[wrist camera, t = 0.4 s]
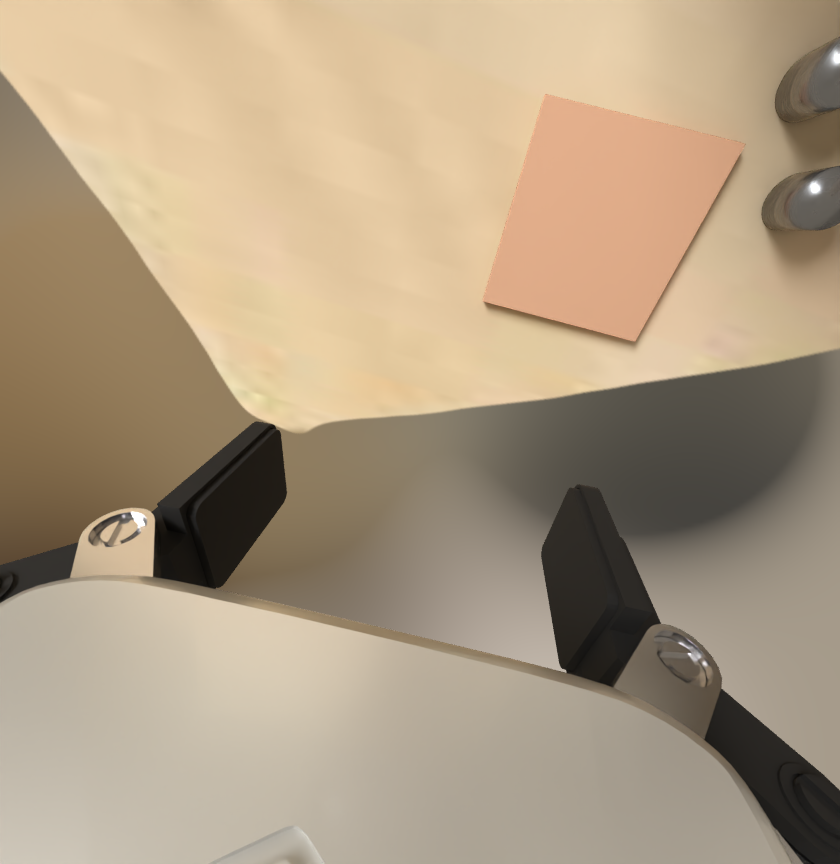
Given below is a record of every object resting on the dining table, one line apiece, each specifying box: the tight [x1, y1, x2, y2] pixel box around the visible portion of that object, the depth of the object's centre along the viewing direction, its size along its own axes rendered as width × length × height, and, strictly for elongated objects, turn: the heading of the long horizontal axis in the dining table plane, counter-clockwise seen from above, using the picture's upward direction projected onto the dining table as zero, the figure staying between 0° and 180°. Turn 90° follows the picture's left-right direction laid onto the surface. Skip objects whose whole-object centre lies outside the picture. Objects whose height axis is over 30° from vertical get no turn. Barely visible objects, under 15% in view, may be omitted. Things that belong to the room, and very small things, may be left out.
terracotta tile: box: [483, 94, 745, 342], centre depth 32 cm, size 16×16×1 cm
